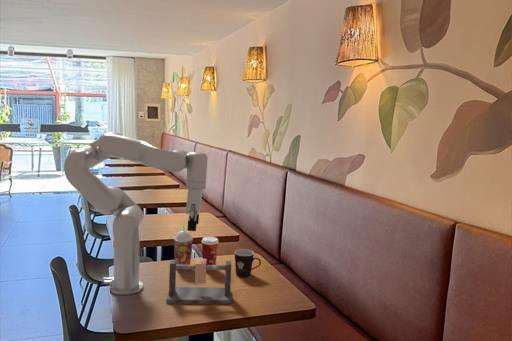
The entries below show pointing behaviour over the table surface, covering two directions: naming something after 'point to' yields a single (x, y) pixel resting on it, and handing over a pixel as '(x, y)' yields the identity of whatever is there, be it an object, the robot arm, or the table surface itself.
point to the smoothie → (183, 247)
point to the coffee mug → (244, 262)
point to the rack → (199, 293)
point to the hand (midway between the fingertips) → (193, 227)
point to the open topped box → (200, 271)
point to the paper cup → (210, 250)
